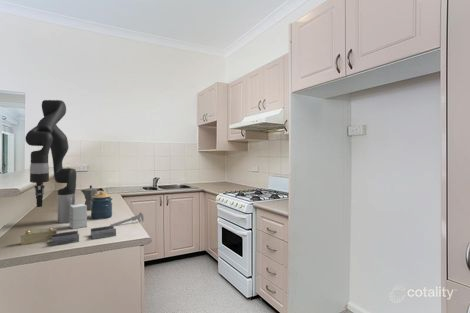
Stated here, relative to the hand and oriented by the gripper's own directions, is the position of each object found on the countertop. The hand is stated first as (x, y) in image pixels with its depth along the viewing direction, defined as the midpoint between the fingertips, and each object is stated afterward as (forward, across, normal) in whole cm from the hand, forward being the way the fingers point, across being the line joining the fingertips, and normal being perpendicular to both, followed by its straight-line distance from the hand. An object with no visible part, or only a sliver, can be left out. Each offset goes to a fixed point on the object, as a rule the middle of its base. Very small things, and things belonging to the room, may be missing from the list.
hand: (39, 205), depth 130 cm
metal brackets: (+18, +7, +19) cm, 27 cm away
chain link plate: (+18, 0, 0) cm, 18 cm away
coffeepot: (+18, -64, +31) cm, 73 cm away
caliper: (+18, -9, +43) cm, 47 cm away
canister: (+18, -35, +33) cm, 51 cm away
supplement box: (+18, -18, +18) cm, 31 cm away
